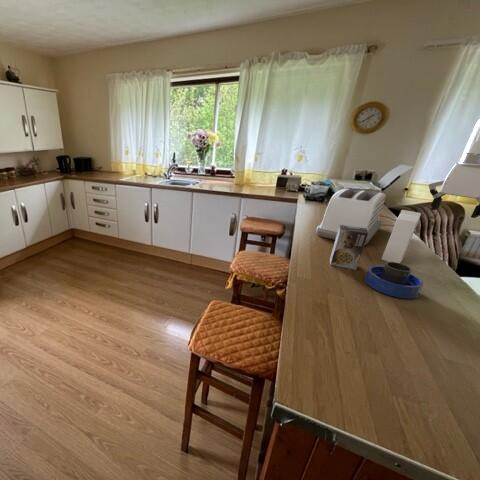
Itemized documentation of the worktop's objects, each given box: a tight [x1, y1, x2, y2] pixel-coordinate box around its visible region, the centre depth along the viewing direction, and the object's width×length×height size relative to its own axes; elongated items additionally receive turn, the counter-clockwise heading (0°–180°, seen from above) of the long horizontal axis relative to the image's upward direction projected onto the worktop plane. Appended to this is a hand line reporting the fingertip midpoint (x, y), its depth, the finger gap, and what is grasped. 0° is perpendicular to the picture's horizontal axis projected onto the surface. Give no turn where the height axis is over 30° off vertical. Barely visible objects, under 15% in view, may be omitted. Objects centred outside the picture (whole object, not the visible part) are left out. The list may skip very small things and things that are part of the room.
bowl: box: [364, 265, 425, 300], centre depth 90 cm, size 15×15×5 cm
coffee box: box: [329, 225, 368, 271], centre depth 103 cm, size 9×6×16 cm
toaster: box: [315, 188, 387, 246], centre depth 139 cm, size 23×45×22 cm, turn 133°
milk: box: [380, 209, 422, 264], centre depth 106 cm, size 6×6×22 cm
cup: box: [380, 261, 413, 285], centre depth 89 cm, size 7×7×8 cm
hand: (453, 213), depth 85 cm, fingers open, 9 cm apart
